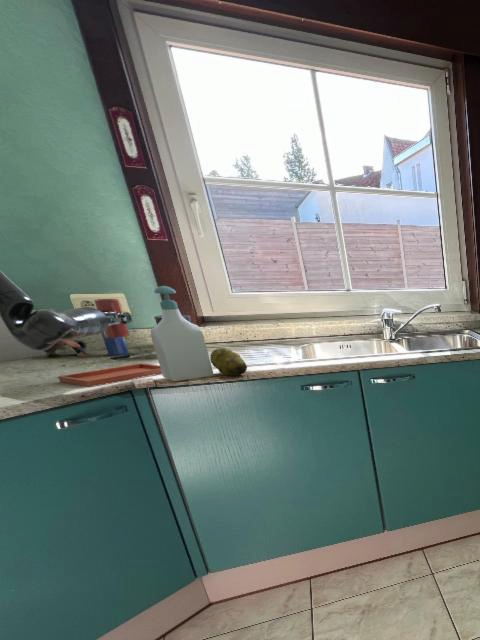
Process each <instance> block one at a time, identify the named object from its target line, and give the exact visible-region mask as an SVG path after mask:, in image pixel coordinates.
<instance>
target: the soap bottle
mask: <svg viewBox="0 0 480 640" xmlns="http://www.w3.org/2000/svg"><path fill="white" fill-rule="evenodd" d="M176 293H177V291H176V290H175V289H174V288H172V287H170V286H167V285H162V286H161V285H159V286H158V287H156V288H155V289H154V294H158V295H159V294H161V295H163V298H164V299H163V300H160V301H161V302H159V304H160V308H161V315H162V320H161V321H160V322H159V323H158V325H157V324H156V325H155V326H154V327H152V328H151V329H150V337H151V338H150V339H151V341H152V345H153V348H154V351H155V354H156V358H157V361H158V364H159V366H160V368H161V371H162V374H161V375H162V377H163V378H164V379H167V380H170V381H173V382H178V381H184V380H192V379H197V378H205V377H213V376H214V370H213V365H212V363H211V360H210V355H209V351H208V348H207V344H206V340H205V336H204V333H203V332H202V329H201V328H200V326H199V325H197V324H195V323H192V322H191V323H190V322H189V321H187V320H186V319H185V318H183V317H182V316H181V315H182V313H181V312H180V309H179V307H178V306H179V305H178V303H177V301H175V300H174V299H170V295H169V294H176Z"/></svg>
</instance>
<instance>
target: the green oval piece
mask: <svg viewBox="0 0 480 640" xmlns="http://www.w3.org/2000/svg"><path fill="white" fill-rule="evenodd" d="M209 359H210V362H211V365H212V367H213V366H214V368H216V369H217V370H218V372H219V373H220V374H222V375H224V376H231V377H234V376H241V375H243V374H245V373H246V372H247V369H248V365H247V364H246V362H245V360H244V359H243V358H242V357H241V355H240V354H239V353H237V352H235V351H233V350H232V349H230V348H226V347H219V348H216V349H214V350H212V351H211V352H210V355H209Z"/></svg>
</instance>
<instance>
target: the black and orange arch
mask: <svg viewBox="0 0 480 640" xmlns="http://www.w3.org/2000/svg"><path fill="white" fill-rule="evenodd" d="M66 346H69V347H71V348H72V349H73V350H74V352H76V356H77V357H78V358H80V357H86V356H88V352H86V351H87V348H88V346H87V344H86V342H85V341H83V340H81V339H74V340H69V339H60V340H59V341H58V342H56V343H55V344H54V345H53V346H52V347H51V348H49V349H47V350H44V351H43V352H45V353H46V357H48V358H52V357H56V356H58V354H57V353H56V351H58V350H62V351H65V350H67V348H66Z"/></svg>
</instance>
